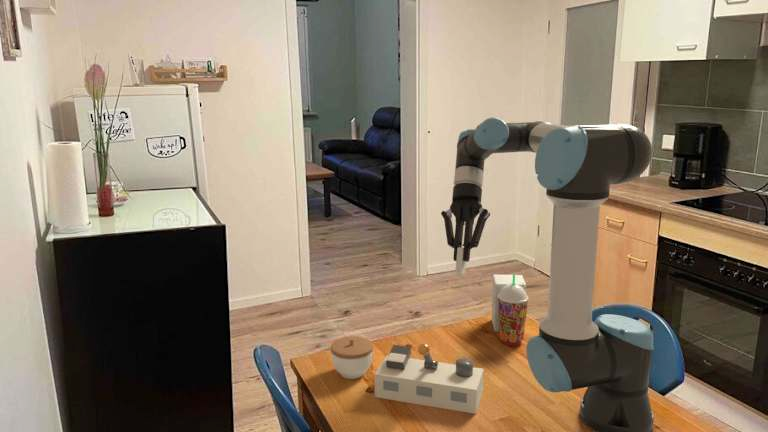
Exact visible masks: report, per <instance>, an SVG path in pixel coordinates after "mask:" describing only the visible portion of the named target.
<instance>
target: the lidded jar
mask: <svg viewBox="0 0 768 432" xmlns="http://www.w3.org/2000/svg"><path fill="white" fill-rule="evenodd" d="M373 349H374V344H373V342H372V341H371V340H370V339H369V338H366V337H362V336H358V335H357V336H356V335H353V336H344V337H340V338H337V339H336V340H334V341H332V343H331V345H330V352H331V353H330V354H331V360H332V361H331V362H332V364H333V367H334V369H335V370H336V372H337V373H338V374H340V375H341V377H342V378H344V379H348V380H350V379H351V380H356V379H359V378H362V377H363V376H364V375H365V373H366V372H367V371H368V370H369V369H370V367H371V365H372V361H373V352H374V351H373Z"/></svg>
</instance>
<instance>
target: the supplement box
mask: <svg viewBox="0 0 768 432" xmlns="http://www.w3.org/2000/svg"><path fill="white" fill-rule="evenodd" d="M492 275H493V276H492V277H493V278H492V299H491V302H492V304H491V306H492V307H491V322H492V326H493V332H499V316H498V294H499V293H500V291H501V289H502V288H503V287H504V286H506V285H508V284H512V281H513V275H515V284H517V285H520V286H521V287H522V288H523V289H524V290H525V292H526V293H527V283H526V281H525V279H524V276H523V275H522V274H492Z"/></svg>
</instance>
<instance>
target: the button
mask: <svg viewBox="0 0 768 432" xmlns="http://www.w3.org/2000/svg"><path fill="white" fill-rule="evenodd" d="M455 365H456V375H458V376H460V377H470V376H472V375H473V367H474V361H473V360H472V359H470V358H464V357H461V358H458V359H456V361H455Z"/></svg>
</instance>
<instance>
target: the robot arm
mask: <svg viewBox="0 0 768 432" xmlns="http://www.w3.org/2000/svg"><path fill="white" fill-rule="evenodd" d="M521 152H524V153H525V152H528V153H535V158H534V159H535V160H534V170H535V174H536V175H537V177H536V178H537V182H538V183H539V184H540V185H541V186H542V187H543V188H544V189H545V190H546V193H545V195H546V196H547V198H548V199H549V200H550V201H551V202H552V204H553V213H552V229H551V230H552V231H551V233H552V234H551V249H550V268H549V269H550V270H549V284H548V286H549V287H548V299H547V301H548V304H547V315H546V316H545V317H543V318H542V319H541V320H540V321H539V329H538V330H539V331H538V335H533V336H532V337H530V338H529V340H528V341H527V343H526V350H525V351H526V358H527V359H526V360H527V362H528V366H529V368H530V371H531V373H532V375H533V377H534V378H535V380H536V381H537V383H538V385H539V386H541V387H542V388H543V389H544V390H545V391H547V392H550V393H560V392H565V393H567V392H571V391H574V390H578V389H583V388H586V389H585V390H586V391H585V392H584V395H583V397H582V398H581V401H580V403H579V404H580V405H579V416H580V418H581V420H582V421H583V422H584V424H586V426H588V427H589V428H590V429H592V430H594V431H595V432H652V431H653V429H654V422H655V421H654V420H655V416H654V411H653V410H652V407H651V401H650V398H649V396H650V395H649V385H650V377H651V370H652V369H651V368H652V362H653V361H652V360H653V351H654V350H655V348H654V332H653V330H652V329H651V328H650V327H649V326H648V325H647V324H645V323H643V322H641V321H639V320H637V319H634V318H631V317H628V316H625V315H619V314H612V313H611V314H608V313H607V314H606V313H605V314H601V315H598V316H597V317H596V319H595V321H593V320H592V319H593V309H594V308H593V305H594V291H595V290H594V289H595V279H596V278H595V277H596V268H597V267H596V264H597V251H598V240H599V239H598V238H599V237H598V236H599V235H598V234H599V224H600V211H601V210H600V208H601V205H602V204H604V203H605V202H606V201H607V200H608V199H609V198H610V188H611V185H619V184H624V183H628V182H631V181H633V180H635V179H638V178H639V177H640V176H641V175H642V174H643V173H645V171H646V170H647V168H648V167H649V166H650V163H651V160H652V155H653V147H652V143H651V141H650V139H649V137H648V136H647V134H646V133H645V132H644V131H643V130H641V129H639V128H638V127H636V126H634V125H630V124H625V123H613V124H591V125H590V124H589V125H588V124H585V125H583V124H582V125H577V124H574V125H573V124H572V125H561V124H555V123H554V124H553V123H551V122H549V121H538V120H536V121H528V122H526V121H525V122H505V121H504V120H503V119H500V118H498V117H489V118H486V119H484V120H483V121H482V122H480V124H478V125H477V126H476V127H475V129H474V128H473V129H471V128H470V129H466V130H463V131H461V132H460V133H459V136H458V139H457V143H456V159H455V169H454V177H453V187H452V189H453V190H452V200H451V201H452V202H451V204H450V206H449V208H448V209H447V210H446V211H445V210H443V211H441V212H440V213H441V216H442V218H443V222H444V228H445V229H444V230H445V235H446V242H447V245H448V246H449V247H450V248H451V249H453V261H455V274H457V275H458V276H465V274H466V267H467V266H466V263H468V262H470V258H471V250H472V249H473V248H478V246H479V243H480V240H481V238H482V234H483V231H484V228H485V226H486V222H487V220H488V219H489V217H490V216H491V212H490V211H489V210H488V209H486V208H483V205H482V198H483V197H482V193H483V183H484V182H483V181H484V169H485V161H486V160H487V159H488V158H489V157H491V155H493V154H504V153H505V154H506V153H507V154H508V153H509V154H510V153H521ZM452 214H453V215H452ZM453 216H454V217H455V228H454V226H453V221H452V217H453ZM476 218H477V220H476V223H475V219H476ZM474 225H475V227H474ZM454 229H455V230H454ZM473 229H474V230H473Z"/></svg>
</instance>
